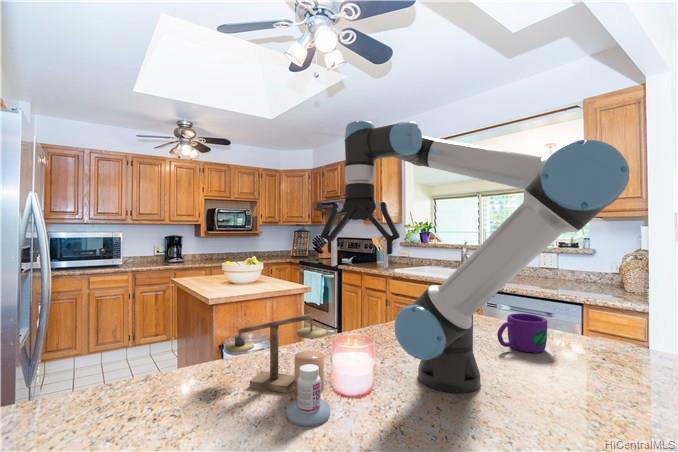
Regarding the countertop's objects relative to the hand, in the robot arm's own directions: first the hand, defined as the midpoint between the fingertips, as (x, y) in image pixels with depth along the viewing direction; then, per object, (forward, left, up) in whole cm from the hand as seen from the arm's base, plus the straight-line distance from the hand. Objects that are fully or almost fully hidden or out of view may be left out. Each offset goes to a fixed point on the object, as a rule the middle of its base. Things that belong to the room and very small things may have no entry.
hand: (359, 266), depth 90 cm
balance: (+19, +10, -29) cm, 36 cm away
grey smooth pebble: (+6, +20, -29) cm, 35 cm away
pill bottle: (+6, +20, -28) cm, 34 cm away
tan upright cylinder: (+10, +9, -29) cm, 32 cm away
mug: (-44, -36, -29) cm, 64 cm away
